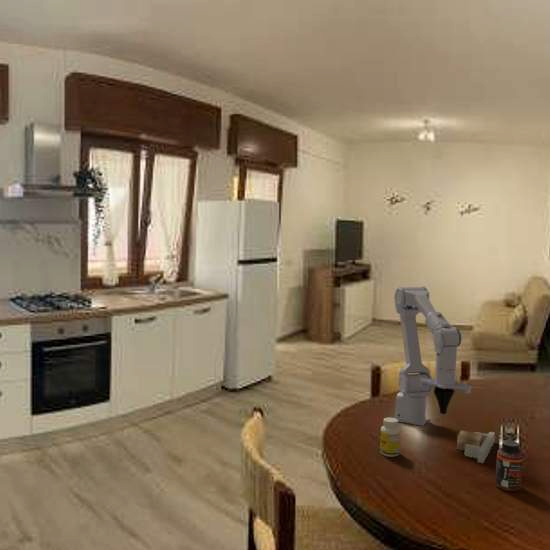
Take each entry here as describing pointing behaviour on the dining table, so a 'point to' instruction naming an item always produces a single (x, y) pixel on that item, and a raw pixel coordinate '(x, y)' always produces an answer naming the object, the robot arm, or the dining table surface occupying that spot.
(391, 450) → the supplement bottle
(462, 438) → the maple block
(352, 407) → the dining table surface
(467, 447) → the bracket
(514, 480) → the supplement bottle
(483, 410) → the dining table surface
